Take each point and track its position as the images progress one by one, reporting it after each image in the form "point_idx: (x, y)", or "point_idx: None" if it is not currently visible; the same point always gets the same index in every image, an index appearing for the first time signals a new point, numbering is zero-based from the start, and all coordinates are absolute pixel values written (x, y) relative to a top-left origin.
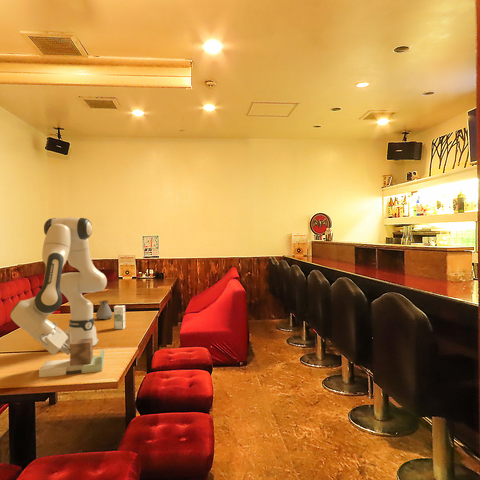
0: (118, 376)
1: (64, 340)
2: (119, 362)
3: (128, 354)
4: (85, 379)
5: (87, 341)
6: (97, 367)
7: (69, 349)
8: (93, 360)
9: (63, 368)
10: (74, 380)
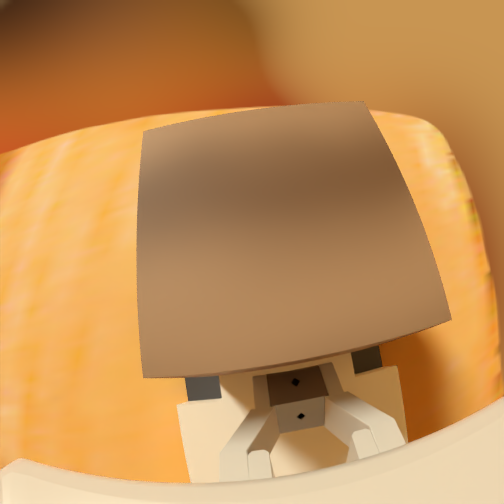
0: (391, 114)
1: (239, 498)
2: None
3: (92, 137)
4: (441, 228)
5: (309, 132)
6: None
7: (299, 387)
8: None
9: (397, 380)
10: (456, 278)
